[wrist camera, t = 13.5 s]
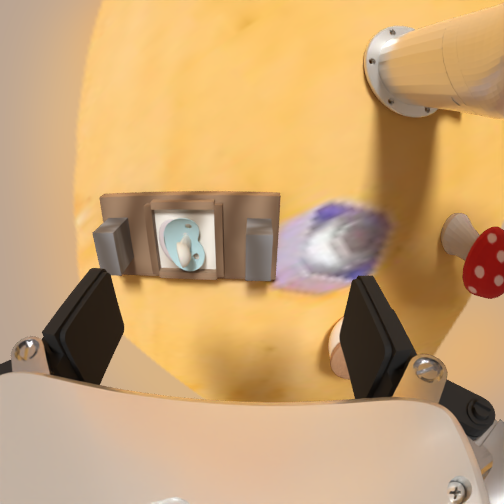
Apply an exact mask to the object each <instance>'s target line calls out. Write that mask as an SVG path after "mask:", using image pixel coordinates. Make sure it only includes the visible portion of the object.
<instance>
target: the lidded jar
mask: <svg viewBox="0 0 504 504" xmlns="http://www.w3.org/2000/svg"><path fill="white" fill-rule="evenodd" d="M343 318H344V316H343V317H342V318H341V319H340V320H339V321H338V323H337V324H336V325H335V326H334V328H333V329H332V332H331V334H330V338H329V356H330V364H331V368H332V370H333V372H334V373H335V374H336V375H337V376H339V377H341V378H344V379H350V377H349V373H348V369H347V365H346V362H345V358H344V355H343V351H342V348H341V344H340V340H339V334H340V329H341V326H342V322H343Z"/></svg>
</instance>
